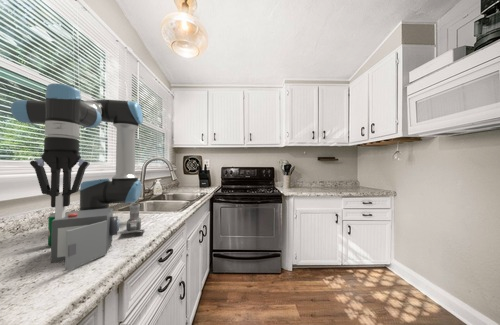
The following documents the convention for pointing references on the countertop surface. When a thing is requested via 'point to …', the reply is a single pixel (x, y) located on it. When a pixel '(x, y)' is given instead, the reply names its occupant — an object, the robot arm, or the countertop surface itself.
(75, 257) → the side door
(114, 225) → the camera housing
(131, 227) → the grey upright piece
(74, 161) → the robot arm
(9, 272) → the countertop surface
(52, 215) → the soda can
